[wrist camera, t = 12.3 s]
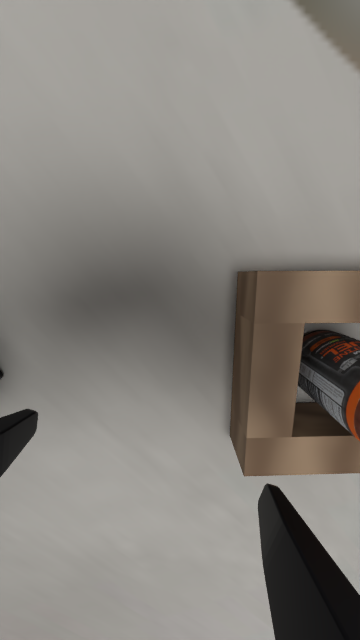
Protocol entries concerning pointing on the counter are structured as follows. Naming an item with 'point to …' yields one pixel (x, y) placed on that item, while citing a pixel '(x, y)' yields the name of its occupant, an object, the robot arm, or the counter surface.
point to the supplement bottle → (333, 376)
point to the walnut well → (287, 373)
